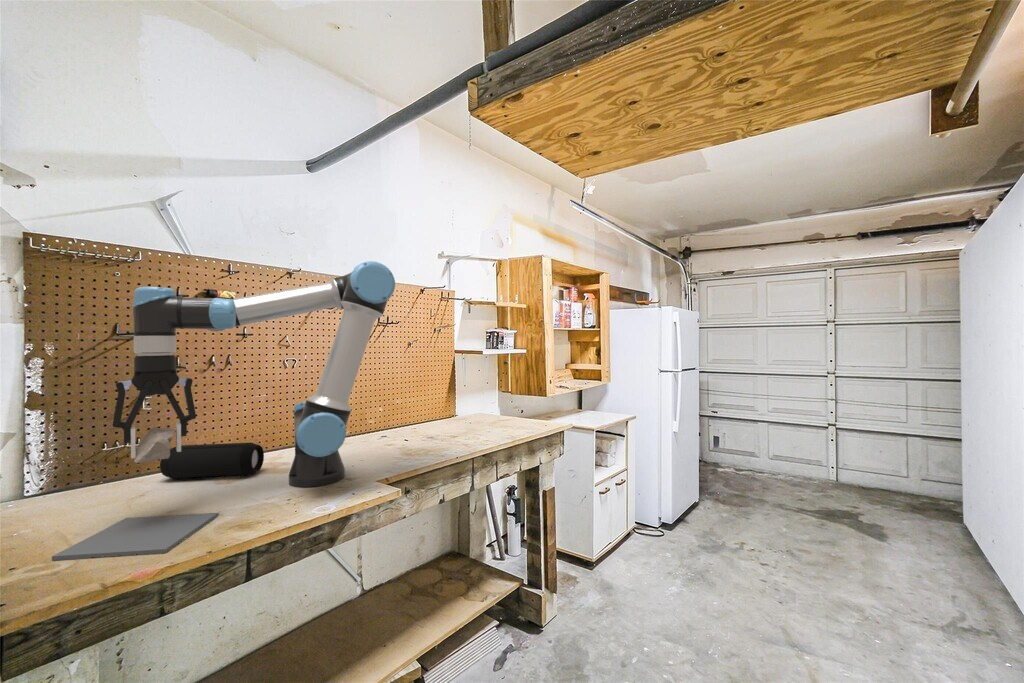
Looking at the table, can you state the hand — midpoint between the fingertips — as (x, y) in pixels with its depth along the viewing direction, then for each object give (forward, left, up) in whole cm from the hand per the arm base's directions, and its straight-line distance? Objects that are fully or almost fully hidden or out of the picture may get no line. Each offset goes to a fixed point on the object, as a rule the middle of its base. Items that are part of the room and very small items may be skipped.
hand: (156, 453), depth 100 cm
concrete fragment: (-1, +1, -1) cm, 1 cm away
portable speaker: (+6, -33, -16) cm, 37 cm away
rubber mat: (-3, +8, -15) cm, 18 cm away
